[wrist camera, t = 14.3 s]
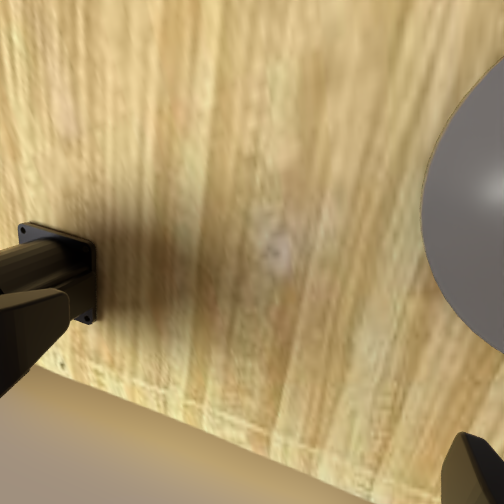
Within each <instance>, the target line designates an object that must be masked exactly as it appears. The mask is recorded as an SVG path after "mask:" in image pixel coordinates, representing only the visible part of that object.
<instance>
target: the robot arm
mask: <svg viewBox="0 0 504 504" xmlns="http://www.w3.org/2000/svg"><path fill="white" fill-rule="evenodd" d="M18 237H19V245H16V246H13V247H10V248H6V249H3V250H0V398H1V397H2V396H3V395H4V394H5V393H6V392H7V391H9V390H10V389H11V388H12V387H13V386H14V385H15V384H16V383H17V382H18V381H19V380H20V379H21V378H22V377H23V376H25V374H27V373H28V372H29V370H30V368H31V367H32V366H33V365H34V364H35V363H36V362H37V361H38V360H39V359H40V357H41V356H42V355H43V354H44V353H45V352H46V351H47V350H48V349H49V348H50V347H51V346H52V345H53V344H54V343H55V342H56V341H57V340H58V339H59V338H60V337H61V336H62V335H63V334H64V333H65V331H66V330H67V329H68V327H69V324H70V321H71V320H73V319H74V320H76V321H79V322H82V323H85V324H87V325H90V324H92V323H94V322H95V321H96V248H95V245H94V244H93V243H92V242H91V241H88V240H85V239H81V238H78V237H75V236H71V235H68V234H64V233H61V232H58V231H54V230H51V229H47V228H44V227H41V226H37V225H34V224H31V223H26V222H25V223H22V224H19V225H18ZM87 248H88V249H87ZM441 504H504V461H503V460H502V459H501V458H500V456H499V455H498V454H497V453H496V452H495V451H494V449H493V448H492V447H491V446H490V445H489V444H488V443H487V442H486V441H485V440H484V439H482V438H480V437H477V436H474V435H471V434H468V433H466V432H459V433H458V434H457V435H456V437H455V438H454V441H453V443H452V445H451V447H450V449H449V451H448V453H447V455H446V458H445V460H444V462H443V465H442V471H441Z"/></svg>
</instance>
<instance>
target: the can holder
mask: <svg viewBox="0 0 504 504" xmlns="http://www.w3.org/2000/svg"><path fill="white" fill-rule="evenodd" d="M420 222H421V233H422V238H423V243H424V248H425V252H426V255H427V259H428V262H429V264H430V267H431V270H432V273H433V276H434V278H435V281H436V282H437V284H438V286H439V288H440V290H441V292H442V294H443V295H444V297H445V299H446V300H447V302H448V303H449V304H450V306H451V307H452V308H453V310H454V311H455V312H456V314H457V315H458V316H459V317H460V318H461V319H462V321H463V322H464V323H465V324H466V325H467V326H468V327H469V328H470V329H471V330H472V331H473V332H474V333H476V334H477V335H478V336H479V337H481V338H482V339H483V340H484V341H486V342H487V343H488V344H489V345H491V346H492V347H494V348H495V349H497V350H499V351H500V352H502V353H503V354H504V56H503V57H502V58H501V59H500V60H499V61H498V62H497V63H496V64H495V65H493V66H492V67H491V68H490V69H489V70H488V71H487V72H486V73H485V74H484V75H483V76H482V77H481V78H480V79H479V81H478V82H477V83H476V84H475V85H474V86H473V87H472V88H471V90H470V91H469V92H468V93H467V94H466V95H465V97H464V98H463V99H462V101H461V102H460V104H459V105H458V107H457V108H456V109H455V111H454V112H453V114H452V115H451V116H450V118H449V119H448V121H447V123H446V125H445V127H444V129H443V131H442V132H441V134H440V136H439V138H438V140H437V142H436V144H435V147H434V149H433V152H432V154H431V157H430V160H429V162H428V165H427V169H426V173H425V177H424V181H423V185H422V193H421V203H420Z"/></svg>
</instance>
